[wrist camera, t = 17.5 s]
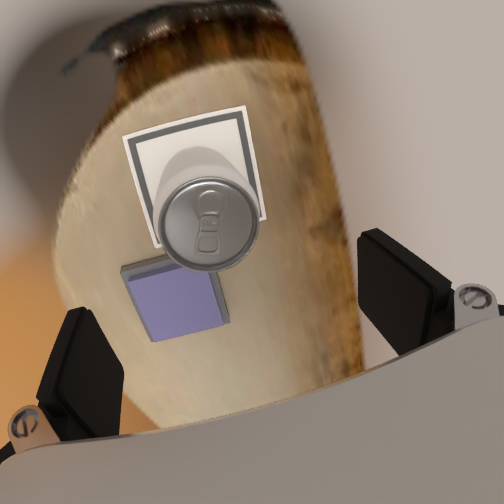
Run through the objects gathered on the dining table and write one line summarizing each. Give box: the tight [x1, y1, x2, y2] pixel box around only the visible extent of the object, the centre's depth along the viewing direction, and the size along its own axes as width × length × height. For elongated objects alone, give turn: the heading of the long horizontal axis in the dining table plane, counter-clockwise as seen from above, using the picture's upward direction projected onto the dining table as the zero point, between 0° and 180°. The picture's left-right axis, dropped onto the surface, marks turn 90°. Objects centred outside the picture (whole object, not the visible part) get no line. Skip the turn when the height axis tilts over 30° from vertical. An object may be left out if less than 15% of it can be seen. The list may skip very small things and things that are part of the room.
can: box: [153, 146, 260, 273], centre depth 23 cm, size 6×6×12 cm
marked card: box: [122, 105, 266, 249], centre depth 28 cm, size 11×11×1 cm
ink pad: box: [120, 254, 230, 342], centre depth 32 cm, size 9×9×2 cm
